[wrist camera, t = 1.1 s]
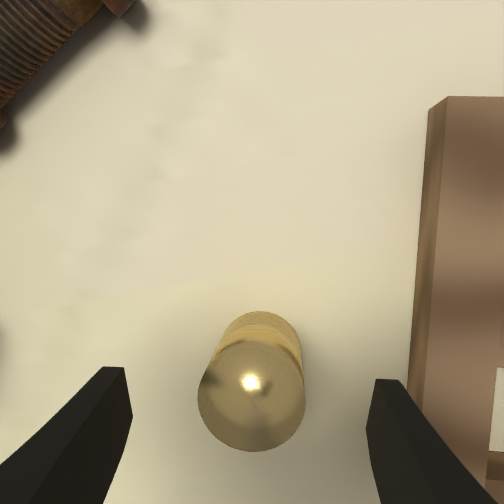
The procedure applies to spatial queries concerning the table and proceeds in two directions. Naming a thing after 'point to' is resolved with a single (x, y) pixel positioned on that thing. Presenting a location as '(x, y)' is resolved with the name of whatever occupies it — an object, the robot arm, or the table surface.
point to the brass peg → (254, 384)
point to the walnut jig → (461, 282)
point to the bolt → (39, 36)
